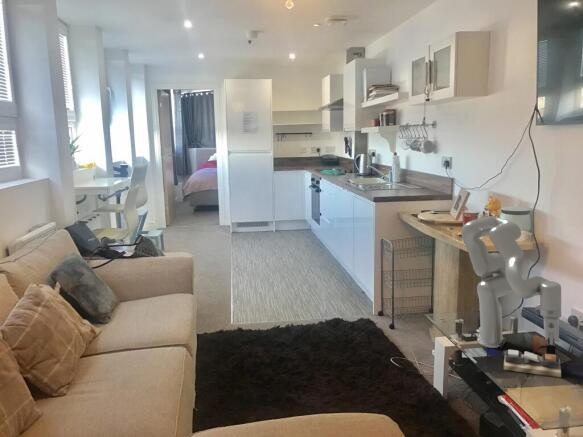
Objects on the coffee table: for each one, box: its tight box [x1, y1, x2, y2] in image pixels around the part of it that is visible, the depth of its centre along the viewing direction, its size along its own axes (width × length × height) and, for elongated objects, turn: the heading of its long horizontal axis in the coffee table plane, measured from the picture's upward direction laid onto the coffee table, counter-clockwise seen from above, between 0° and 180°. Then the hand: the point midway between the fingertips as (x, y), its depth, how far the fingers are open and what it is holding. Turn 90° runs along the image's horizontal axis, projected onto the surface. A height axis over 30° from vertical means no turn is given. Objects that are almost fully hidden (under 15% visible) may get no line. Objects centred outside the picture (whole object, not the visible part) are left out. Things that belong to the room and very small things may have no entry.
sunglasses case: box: [530, 334, 554, 356], centre depth 207 cm, size 18×7×7 cm
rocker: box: [524, 351, 539, 362], centre depth 194 cm, size 6×4×1 cm
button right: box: [545, 354, 557, 362], centre depth 190 cm, size 4×4×2 cm
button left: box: [508, 349, 520, 358], centre depth 197 cm, size 4×4×2 cm
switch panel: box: [503, 349, 562, 378], centre depth 194 cm, size 21×12×4 cm, turn 63°
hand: (550, 353), depth 190 cm, fingers closed
